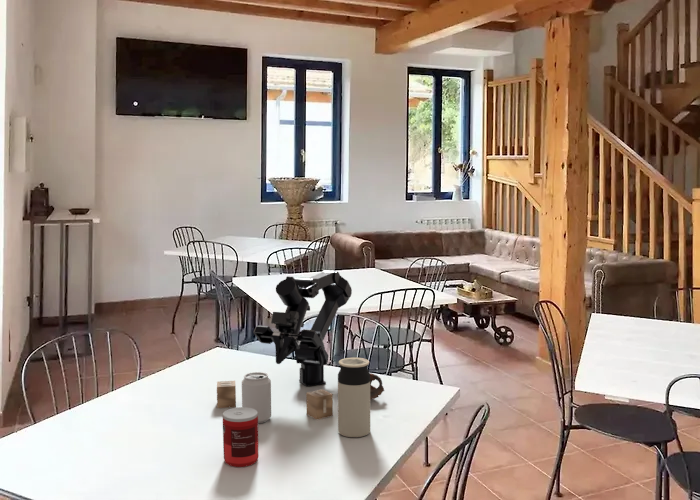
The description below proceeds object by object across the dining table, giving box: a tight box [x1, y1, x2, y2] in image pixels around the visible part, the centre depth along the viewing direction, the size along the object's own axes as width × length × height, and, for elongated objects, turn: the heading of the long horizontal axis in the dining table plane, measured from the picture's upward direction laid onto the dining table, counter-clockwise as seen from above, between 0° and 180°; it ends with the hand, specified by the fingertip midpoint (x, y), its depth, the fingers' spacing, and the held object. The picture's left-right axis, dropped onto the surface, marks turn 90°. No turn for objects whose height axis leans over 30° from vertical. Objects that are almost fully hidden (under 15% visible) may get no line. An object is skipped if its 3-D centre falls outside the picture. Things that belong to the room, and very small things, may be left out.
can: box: [241, 371, 272, 424], centre depth 178 cm, size 8×8×12 cm
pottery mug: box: [369, 372, 385, 401], centre depth 195 cm, size 12×10×8 cm
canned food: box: [222, 406, 259, 468], centre depth 153 cm, size 8×8×11 cm
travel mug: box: [337, 357, 371, 438], centre depth 169 cm, size 8×8×18 cm
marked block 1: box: [216, 380, 237, 409], centre depth 190 cm, size 5×5×6 cm
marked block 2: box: [305, 388, 334, 421], centre depth 181 cm, size 5×5×6 cm
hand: (277, 363), depth 188 cm, fingers closed
